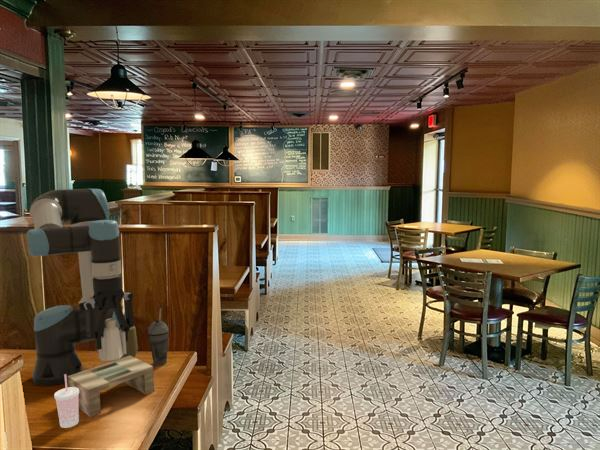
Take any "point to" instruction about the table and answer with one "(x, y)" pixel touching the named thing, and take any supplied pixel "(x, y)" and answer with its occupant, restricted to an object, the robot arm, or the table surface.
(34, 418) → the table surface
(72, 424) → the beverage cup
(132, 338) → the squeeze bottle
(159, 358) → the beverage cup
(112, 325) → the pepper shaker
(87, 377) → the cut-out shelf
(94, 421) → the table surface
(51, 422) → the table surface
